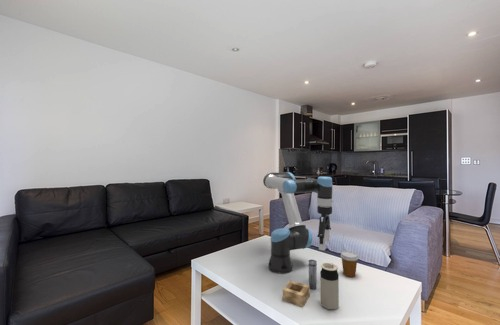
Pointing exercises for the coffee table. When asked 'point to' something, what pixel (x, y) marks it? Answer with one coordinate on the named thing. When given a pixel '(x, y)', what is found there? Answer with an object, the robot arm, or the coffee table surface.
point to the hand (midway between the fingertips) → (324, 245)
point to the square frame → (296, 293)
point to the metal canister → (313, 274)
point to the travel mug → (329, 286)
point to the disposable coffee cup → (349, 263)
